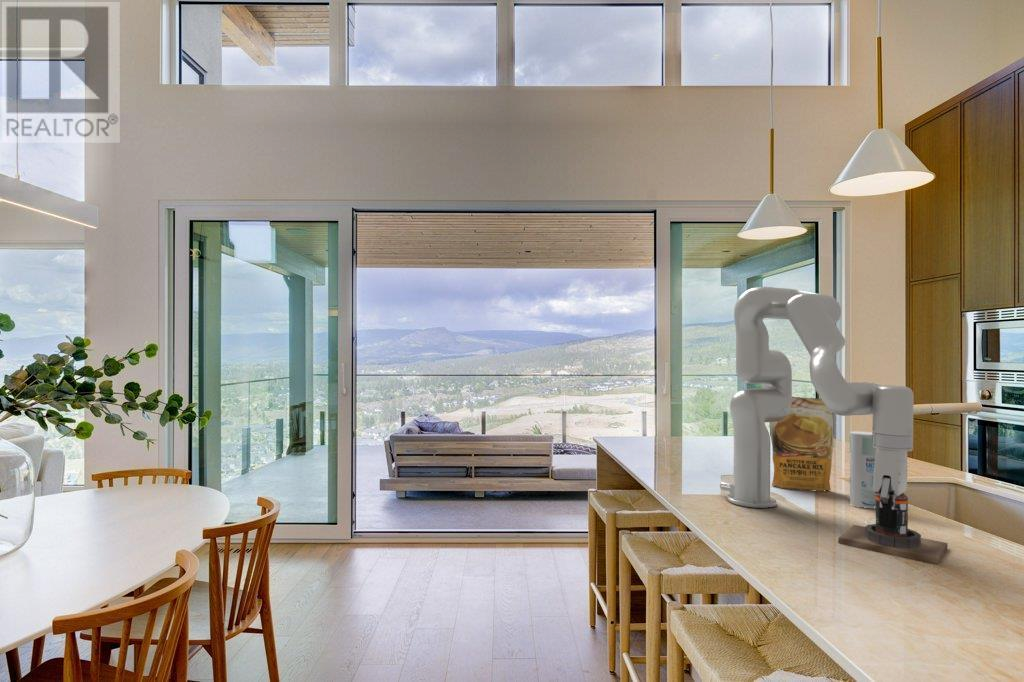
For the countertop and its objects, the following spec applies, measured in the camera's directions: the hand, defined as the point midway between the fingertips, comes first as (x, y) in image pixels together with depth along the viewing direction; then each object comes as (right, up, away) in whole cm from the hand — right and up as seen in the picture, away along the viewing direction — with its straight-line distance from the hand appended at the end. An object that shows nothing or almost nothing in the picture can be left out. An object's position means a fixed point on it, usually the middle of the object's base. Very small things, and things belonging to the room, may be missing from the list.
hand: (891, 523), depth 128 cm
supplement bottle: (0, -3, 0) cm, 3 cm away
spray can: (+13, -5, +32) cm, 35 cm away
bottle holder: (0, -5, 0) cm, 5 cm away
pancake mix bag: (+6, -6, +52) cm, 52 cm away
